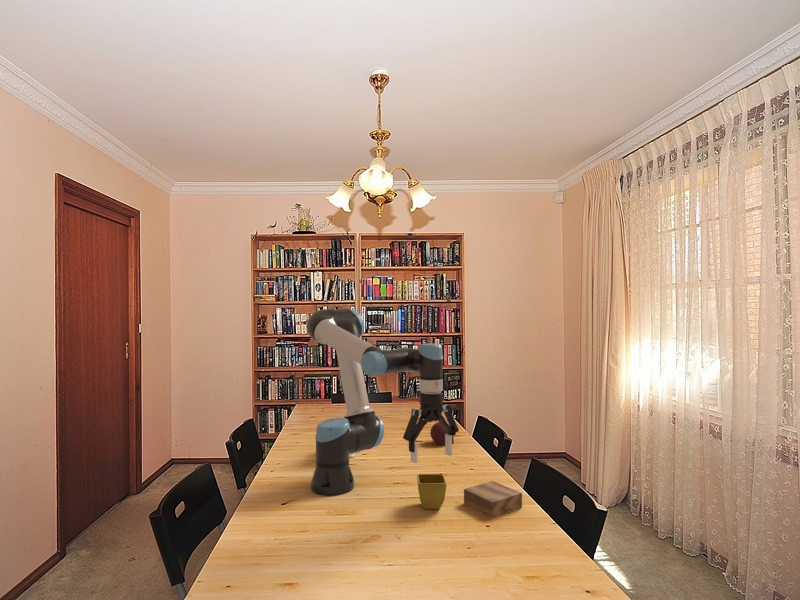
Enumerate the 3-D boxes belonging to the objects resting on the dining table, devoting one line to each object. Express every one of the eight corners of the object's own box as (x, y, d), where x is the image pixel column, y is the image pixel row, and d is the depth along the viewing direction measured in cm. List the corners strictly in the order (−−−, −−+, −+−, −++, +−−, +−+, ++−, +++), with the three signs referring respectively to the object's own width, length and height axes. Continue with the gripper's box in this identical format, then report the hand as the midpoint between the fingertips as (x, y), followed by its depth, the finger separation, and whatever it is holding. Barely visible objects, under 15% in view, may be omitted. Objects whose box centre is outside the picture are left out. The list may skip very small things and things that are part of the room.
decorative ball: (428, 446, 226) (428, 424, 227) (432, 440, 236) (432, 419, 236) (450, 447, 224) (450, 425, 224) (453, 441, 234) (453, 420, 234)
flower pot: (443, 500, 164) (443, 473, 164) (446, 511, 155) (446, 483, 155) (416, 501, 164) (416, 473, 164) (418, 512, 155) (418, 483, 155)
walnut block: (492, 518, 151) (492, 502, 151) (463, 504, 162) (463, 489, 162) (522, 508, 159) (521, 493, 159) (492, 495, 169) (492, 480, 169)
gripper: (404, 397, 150) (405, 468, 150) (468, 389, 163) (469, 454, 163) (391, 394, 156) (392, 461, 156) (454, 386, 170) (455, 449, 169)
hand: (431, 458), depth 160 cm, fingers open, 13 cm apart
